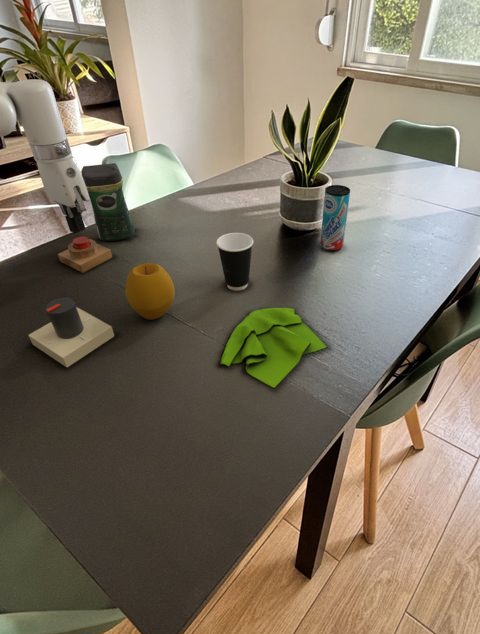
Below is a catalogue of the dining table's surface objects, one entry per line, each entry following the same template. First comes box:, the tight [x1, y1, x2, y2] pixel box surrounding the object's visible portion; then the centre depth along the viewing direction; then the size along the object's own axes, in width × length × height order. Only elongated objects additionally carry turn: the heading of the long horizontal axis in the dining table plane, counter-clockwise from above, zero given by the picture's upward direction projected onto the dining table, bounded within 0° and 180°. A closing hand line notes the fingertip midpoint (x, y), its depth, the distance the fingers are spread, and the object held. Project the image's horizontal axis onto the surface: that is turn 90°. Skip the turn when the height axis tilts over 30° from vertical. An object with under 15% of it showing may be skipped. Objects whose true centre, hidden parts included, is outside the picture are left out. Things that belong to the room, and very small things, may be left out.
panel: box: [27, 306, 115, 368], centre depth 83 cm, size 11×11×3 cm
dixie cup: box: [215, 232, 254, 292], centre depth 94 cm, size 8×8×11 cm
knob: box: [45, 297, 84, 339], centre depth 80 cm, size 5×5×6 cm
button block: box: [57, 238, 113, 274], centre depth 106 cm, size 9×9×4 cm
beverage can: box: [319, 184, 351, 252], centre depth 106 cm, size 6×6×15 cm
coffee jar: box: [80, 162, 136, 242], centre depth 110 cm, size 10×8×19 cm
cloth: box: [220, 307, 328, 389], centre depth 82 cm, size 20×22×2 cm
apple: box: [124, 262, 176, 320], centre depth 86 cm, size 10×10×12 cm
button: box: [72, 236, 90, 250], centre depth 104 cm, size 4×4×2 cm
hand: (78, 230), depth 102 cm, fingers closed
